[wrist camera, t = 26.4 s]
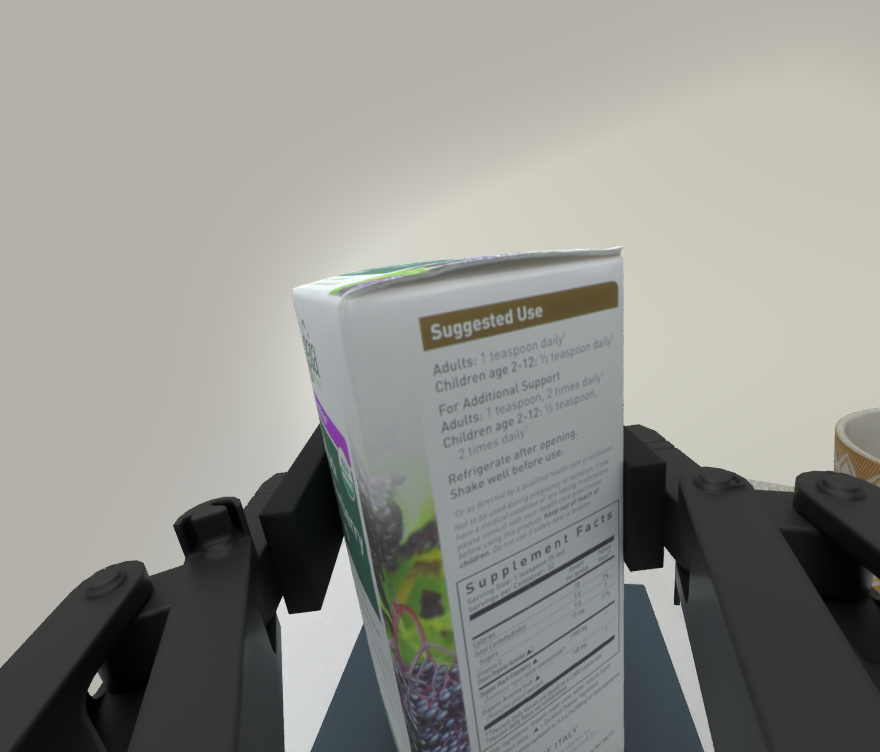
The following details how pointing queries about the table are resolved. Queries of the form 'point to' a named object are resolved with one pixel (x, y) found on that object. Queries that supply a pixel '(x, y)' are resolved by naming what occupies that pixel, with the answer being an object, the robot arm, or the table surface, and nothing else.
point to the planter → (859, 450)
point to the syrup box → (481, 491)
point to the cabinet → (645, 694)
